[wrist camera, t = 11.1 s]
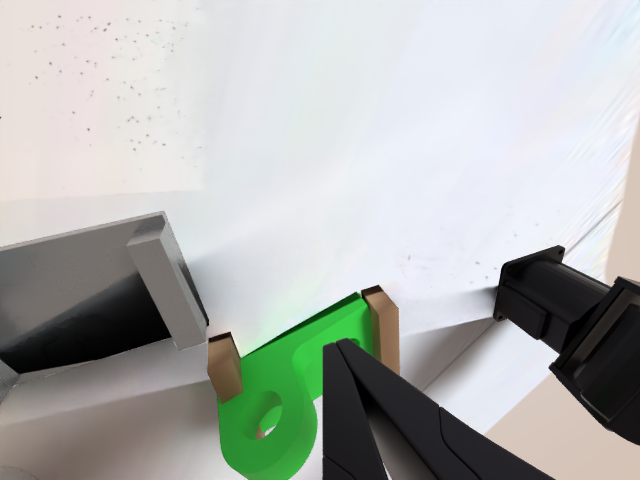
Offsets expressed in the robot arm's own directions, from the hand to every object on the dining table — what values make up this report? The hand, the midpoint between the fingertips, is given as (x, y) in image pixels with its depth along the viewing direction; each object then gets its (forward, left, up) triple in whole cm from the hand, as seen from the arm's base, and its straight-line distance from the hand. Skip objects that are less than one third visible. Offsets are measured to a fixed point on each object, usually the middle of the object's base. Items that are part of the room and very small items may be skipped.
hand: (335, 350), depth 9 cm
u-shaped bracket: (+12, +2, -11) cm, 16 cm away
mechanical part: (0, +12, -11) cm, 16 cm away
